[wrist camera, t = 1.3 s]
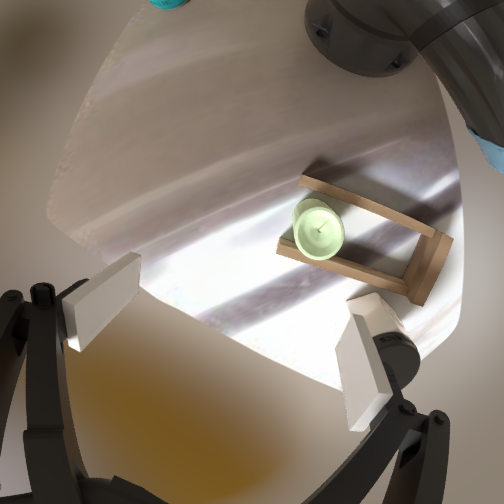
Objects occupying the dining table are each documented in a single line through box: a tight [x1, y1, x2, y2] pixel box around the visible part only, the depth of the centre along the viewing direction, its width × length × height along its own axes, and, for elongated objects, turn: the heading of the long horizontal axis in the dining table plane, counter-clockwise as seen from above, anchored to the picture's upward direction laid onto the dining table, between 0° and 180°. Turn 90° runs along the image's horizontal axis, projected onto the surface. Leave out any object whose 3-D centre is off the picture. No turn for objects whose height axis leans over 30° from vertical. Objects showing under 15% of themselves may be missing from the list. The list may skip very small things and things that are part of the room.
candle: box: [292, 198, 344, 260], centre depth 30 cm, size 5×5×8 cm
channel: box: [276, 174, 454, 307], centre depth 31 cm, size 9×20×5 cm, turn 73°
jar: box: [335, 292, 420, 390], centre depth 31 cm, size 9×8×12 cm
